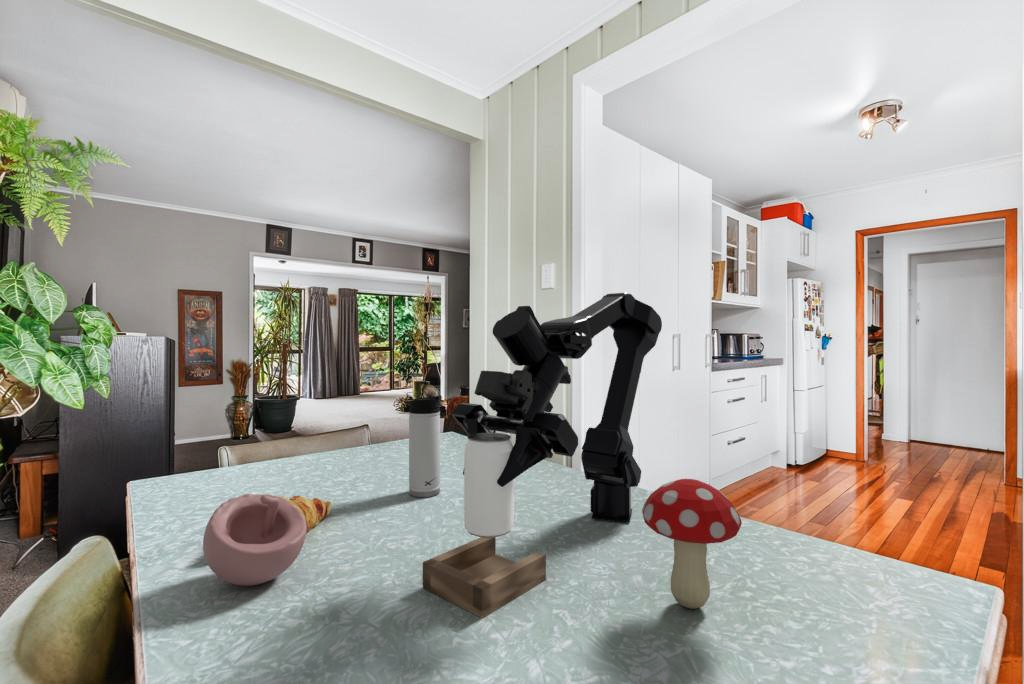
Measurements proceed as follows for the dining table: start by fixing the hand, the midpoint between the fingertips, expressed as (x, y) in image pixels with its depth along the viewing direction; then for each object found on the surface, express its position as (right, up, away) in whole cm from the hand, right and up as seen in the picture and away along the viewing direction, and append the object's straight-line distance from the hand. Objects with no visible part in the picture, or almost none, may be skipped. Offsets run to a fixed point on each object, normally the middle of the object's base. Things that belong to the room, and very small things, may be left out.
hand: (481, 480), depth 64 cm
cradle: (0, -13, +1) cm, 14 cm away
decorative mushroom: (+25, -14, -5) cm, 29 cm away
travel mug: (-14, -13, +39) cm, 43 cm away
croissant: (-33, -14, +17) cm, 40 cm away
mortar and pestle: (-30, -14, +2) cm, 33 cm away
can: (+1, -7, +1) cm, 7 cm away
